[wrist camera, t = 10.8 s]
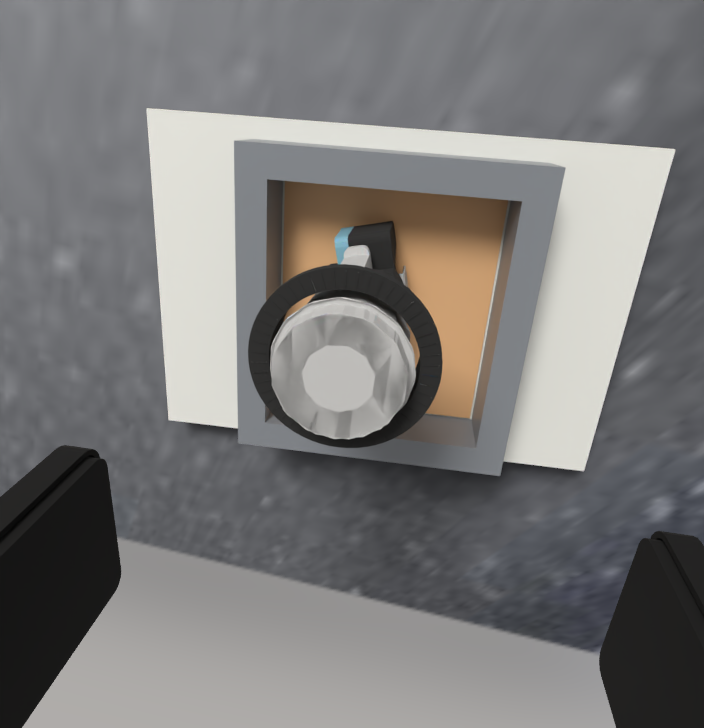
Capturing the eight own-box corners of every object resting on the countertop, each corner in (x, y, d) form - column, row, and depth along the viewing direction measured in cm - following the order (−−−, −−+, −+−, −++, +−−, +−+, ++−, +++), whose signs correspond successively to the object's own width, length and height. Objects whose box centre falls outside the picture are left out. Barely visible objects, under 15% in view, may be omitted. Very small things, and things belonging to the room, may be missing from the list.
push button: (444, 361, 24) (456, 501, 15) (326, 372, 25) (271, 512, 16) (428, 206, 22) (432, 263, 13) (298, 224, 23) (214, 291, 14)
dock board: (659, 147, 22) (707, 152, 18) (575, 453, 27) (599, 504, 24) (162, 109, 23) (114, 106, 20) (180, 405, 29) (145, 446, 25)
